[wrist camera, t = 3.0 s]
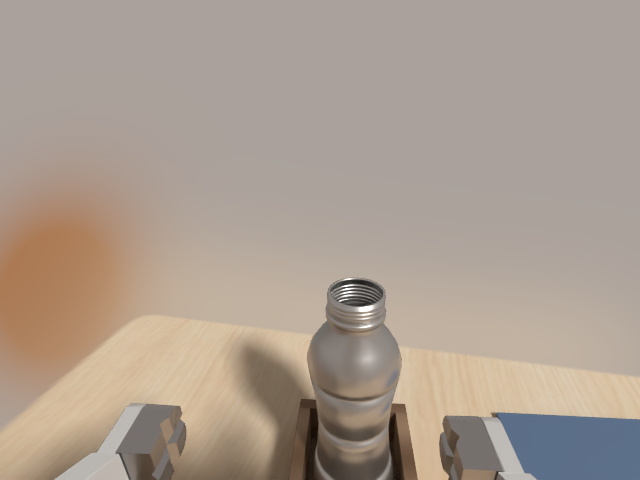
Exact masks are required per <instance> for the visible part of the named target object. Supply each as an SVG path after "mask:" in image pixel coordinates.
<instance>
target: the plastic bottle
mask: <svg viewBox="0 0 640 480" xmlns="http://www.w3.org/2000/svg"><path fill="white" fill-rule="evenodd" d="M385 298H386V295H385V290H384V288H383V287H382V286H381V285H380V284H378V283H377V282H374V281H372V280H369V279H364V278H346V279H341V280H338V281H336V282H334V283H333V284H332V285H331V286H330V287H329V289H328V293H327V301H328V302H327V306H326V318H327V321H326V322H325V323H324V324H323V325H322V326H321V327H320V328H319V330H318V331H317V332H316V333H315V335H314V336H313V338H312V340H311V343H310V346H309V349H308V353H307V361H308V368H309V373H310V377H311V381H312V385H313V389H314V393H315V397H316V405H317V412H318V422H319V426H318V440H317V446H316V450H315V454H314V461H313V475H314V480H393V465H392V458H391V453H390V449H389V431H388V427H389V419H390V413H391V406H392V401H393V398H394V394H395V390H396V387H397V383H398V380H399V376H400V371H401V366H402V358H401V354H400V351H399V347H398V344H397V342H396V340H395V338H394V337H393V335H392V334H391V332H390V331H389V329H388V328H387V327H386V326H385V325H384V324H383V323H384V321H385V317H386V309H385Z"/></svg>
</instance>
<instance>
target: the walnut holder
mask: <svg viewBox="0 0 640 480" xmlns="http://www.w3.org/2000/svg"><path fill="white" fill-rule="evenodd" d="M318 426H319V422H318V412H317V405H316V400H309V399H301V402H300V409H299V415H298V422H297V428H296V435H295V441H294V448H293V454H292V461H291V467H290V474H289V480H307V473H308V464H309V455H310V445H311V437H318ZM388 431H389V441H390V442H393V447H394V456H395V464H396V473H397V480H418V479H417V473H416V467H415V461H414V455H413V449H412V443H411V437H410V431H409V425H408V419H407V413H406V407H405V404H392V406H391V413H390V419H389V427H388Z"/></svg>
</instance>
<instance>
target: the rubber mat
mask: <svg viewBox="0 0 640 480" xmlns="http://www.w3.org/2000/svg"><path fill="white" fill-rule="evenodd" d="M496 418H498V419H499V420H500V421H501V423H502V425H503V427H504V430H505V432H506V434H507V436H508V438H509V440H510V443H511V445H512V447H513V449H514V451H515V453H516V456H517V458H518V460H519V462H520V464H521V466H522V469H523V471H524V473H529V474H531V475H532V476H533V477H534V478H536V479H537V480H640V420H638V419H617V418H597V417H577V416H557V415H537V414H517V413H497V415H496Z"/></svg>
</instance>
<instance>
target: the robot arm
mask: <svg viewBox="0 0 640 480" xmlns="http://www.w3.org/2000/svg"><path fill="white" fill-rule="evenodd" d="M181 415H182V411H181V408H180V406H171V405H156V404H139V403H131V404H130V405H129V406H127V407H126V408H125V410H124V411H123V413H122V415H121V416H120V418H119V419H118V421H117V422H116V424H115V425H114V427H113V428H112V430H111V431H110V433H109V434H108V436H107V437H106V439H105V440H104V442H103V443H102V445H101V446H100V448H99V449H98V451H97V452H92V453H90V454H89V455H87V456H86V457H85V458H83V459H82V460H80V461H79V462H78V463H76V464H75V465H73V466H72V467H71V468H69V469H68V470H66V471H65V472H64V473H62V474H61V475H60V476H58V477H57V478H55V479H54V480H170V479H171V477H172V474H173V472H174V470H173V466H172V463H173V462H174V461H176V460H177V459H178V458H179V457H180V456H181V453H182V451H183V448H184V445H185V440H186V426H185V423H184V422H183V421H181V420H180V417H181ZM443 428H444V432H443V433H442V434H440V441H439V446H440V457H441V462H442V466H443V470H444V471H445V472H446V473H447V474H448V475H449V479H448V480H537V479H536V478H534V477H533V476H532V475H531V474H529V473H524V471H523V469H522V466H521V464H520V462H519V460H518V458H517V456H516V453H515V451H514V449H513V447H512V445H511V443H510V440H509V438H508V436H507V434H506V432H505V430H504V427H503V425H502V423H501V421H500V420H499V419H498V418H495V417H478V416H445V417H444V419H443Z"/></svg>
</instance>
